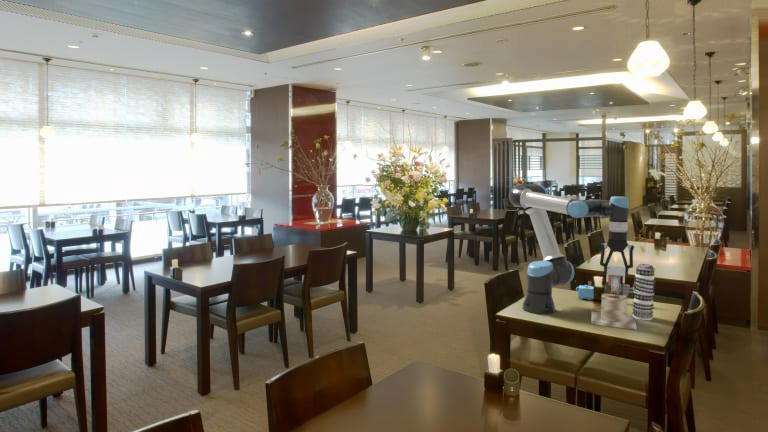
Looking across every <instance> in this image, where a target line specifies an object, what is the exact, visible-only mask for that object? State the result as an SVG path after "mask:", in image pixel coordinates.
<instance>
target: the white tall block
mask: <svg viewBox="0 0 768 432" xmlns="http://www.w3.org/2000/svg"><path fill="white" fill-rule="evenodd" d="M608 267H609V275H612V281H611V286H610V294H615V295H620V292H619V278H620V276H621V277H623V276H624V268H625V267H624V266H618V265H617V266H616V265H608Z"/></svg>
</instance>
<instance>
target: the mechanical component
mask: <svg viewBox="0 0 768 432" xmlns="http://www.w3.org/2000/svg"><path fill="white" fill-rule="evenodd" d="M621 284H623V295H625V296H626V298H627V299H628V296H629V294H635V293H634V289H635V288H634V285H633V286H632V287H631V286H630V284H626V283H620V287H619V293H620V290H621Z"/></svg>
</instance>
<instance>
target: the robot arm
mask: <svg viewBox="0 0 768 432" xmlns="http://www.w3.org/2000/svg"><path fill="white" fill-rule="evenodd" d="M508 200H509V202H510V204H512V205H513V206H514V207H517V208H523V210H524V212H525V213H526V214H527V215H528V216H529V217H530V220H531V224H532V227H533V230H534V233H535V236H536V239H537V242H538V245H539V248H540V251H541V254H542V257H543V258H542V259H543V260H535V261H532V262H530V263H529V264H527V265H528V266H527V271H526V273H527V274H526V277H527V281H526V294H525V297H524V300H523V302H522V310H524V311H525V312H528V313H532V314H537V315H539V314H540V315H541V314H542V315H547V314H553V313H554V312H556V305H555V302H554V299H553V296H552V295H553V294H552V292H553V287H557V286H564V285H567V284H569V283H571V282H572V281H573V279H574V277H575V268H574V265H573V264H572V262H570V261H567V258H566V256H565V255H564V254H562V253H561V251H560V248H559V246H558V241H557V239H556V236H555V233H554V230H553V228H552V224H551V221H550V218H549V215H548V213H547V211H549V212H554V213H559V214H565V215H569V216H570V217H572V218H575V219H581V218H588V217H589V218H590V217H591V218H592V217H605V218H609V221H608V230H609V231H608V239H607V242H605V243H601V244H600V246H601V252H600V253H601V254H600V259H599V265H600V266H602V267H603V274H604V275H606V277H605V279H606V280H605V281H606V282H605V283H608V279H609V263H610V260H611V258H612V256H613V253H617V252H618V253H620V254H621V257H622V261H623V265H624V267H623V268H624V276H622V284H626V283H625V282H626V276H627V277H628V276H629V270H630V269H632V268H633V267H634V256H633V255H634V248H635V246H634V245H633V244H629V243H628V228H629V227H628V224H629V208H630V205H629V203H630V202H629V197H627V196H615V195H614V196H611V197H610V199H609V200H605V199H595V198H592V199H586V200H584V199H583V200H582V199H576V198H569V197H565V196H561V195H560V196H558V195H554V194H549V191H548V190H547V188H546V187H545V186H543V185H541V184H535V183H532V184H516V185H514V186H513V187H512V188H510V191H509V192H508ZM607 246H608V248H609V253H608V255H607V258H606V260H605V259H604V258H605V251H606V249H607ZM626 248H627V249H628V251H629V254H628V256H629V257H628V258H629V264H628V262H627V258H626V255H625V252H624V250H626ZM604 260H605V262H604Z"/></svg>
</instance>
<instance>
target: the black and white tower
mask: <svg viewBox="0 0 768 432" xmlns="http://www.w3.org/2000/svg"><path fill="white" fill-rule="evenodd" d="M635 268H636V269H635V275H633V281H634V282H633V286H634V288H635V289H634V293H633V294H634V298H633V302H632V304H633V305H632V307H633V308H632V309H631V310H632V312H631V313H632V316H634V319H636V320H640V321H641V320H642V321H651V320H653V316H654V314H653V313H654V311H653V309H654V306H655V304H654V295H655V293H656V292H655V290H656V288H655V287H656V282H657V281H656V280H655V277H656V276H655V270H656V268H654V266H653V265H652V264H648V263H647V264H646V263H640V264H638V265H637V266H635Z"/></svg>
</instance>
